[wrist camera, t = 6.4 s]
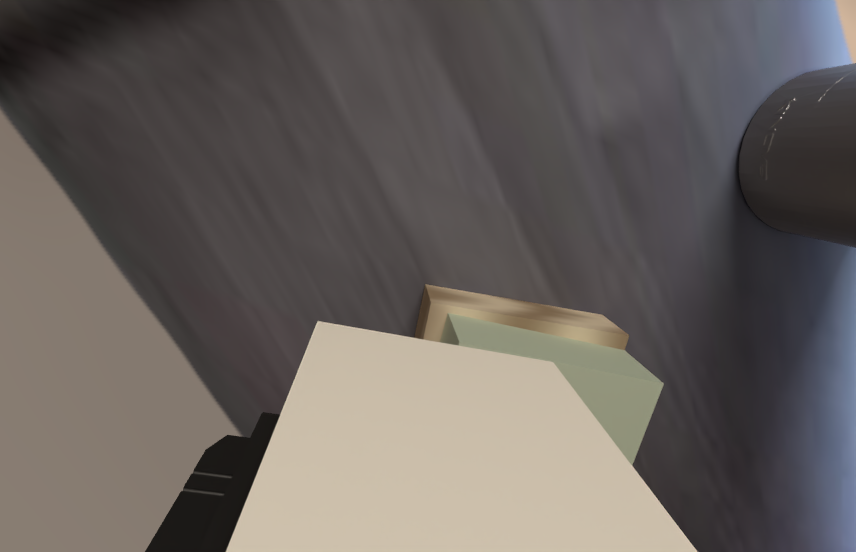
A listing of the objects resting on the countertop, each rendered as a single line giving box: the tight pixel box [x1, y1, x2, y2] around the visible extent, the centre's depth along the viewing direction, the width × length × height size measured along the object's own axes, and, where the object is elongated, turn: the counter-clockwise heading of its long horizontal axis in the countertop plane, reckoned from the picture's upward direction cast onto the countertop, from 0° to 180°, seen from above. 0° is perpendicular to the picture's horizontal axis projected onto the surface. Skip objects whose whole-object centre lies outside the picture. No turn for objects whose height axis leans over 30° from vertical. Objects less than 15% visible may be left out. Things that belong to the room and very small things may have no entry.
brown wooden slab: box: [414, 284, 629, 350], centre depth 30 cm, size 11×15×4 cm
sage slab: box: [440, 313, 664, 465], centre depth 26 cm, size 10×14×4 cm
